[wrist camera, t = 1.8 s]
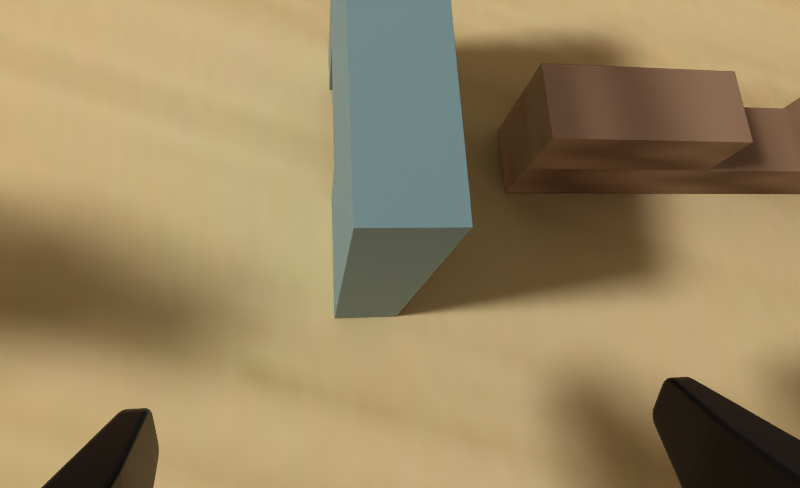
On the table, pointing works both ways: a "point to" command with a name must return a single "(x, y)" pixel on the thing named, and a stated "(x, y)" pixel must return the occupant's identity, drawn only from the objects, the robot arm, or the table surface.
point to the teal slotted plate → (394, 151)
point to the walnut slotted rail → (646, 134)
